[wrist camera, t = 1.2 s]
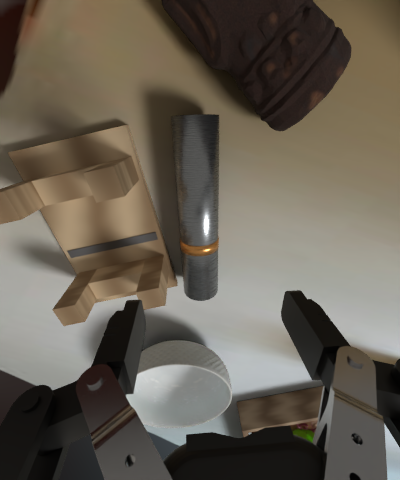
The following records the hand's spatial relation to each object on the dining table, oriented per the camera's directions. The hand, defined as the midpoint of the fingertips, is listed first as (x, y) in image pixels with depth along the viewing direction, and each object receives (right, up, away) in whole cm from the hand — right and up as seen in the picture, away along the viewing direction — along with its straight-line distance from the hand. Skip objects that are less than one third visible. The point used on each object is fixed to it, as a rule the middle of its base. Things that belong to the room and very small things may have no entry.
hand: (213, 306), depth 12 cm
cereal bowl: (-5, -17, +27) cm, 32 cm away
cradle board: (-12, +5, +15) cm, 20 cm away
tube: (-1, +7, +14) cm, 16 cm away
